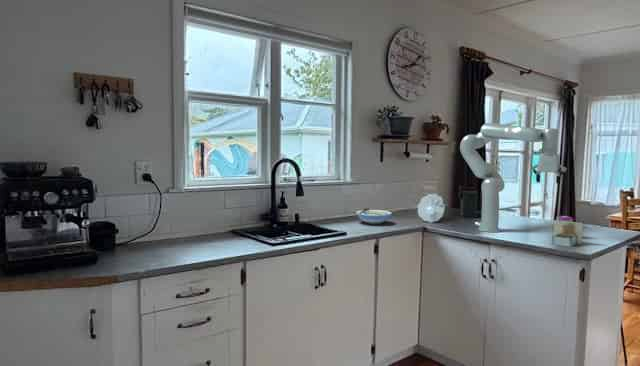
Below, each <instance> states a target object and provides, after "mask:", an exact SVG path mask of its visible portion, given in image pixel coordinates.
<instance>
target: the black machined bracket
mask: <svg viewBox="0 0 640 366" xmlns="http://www.w3.org/2000/svg"><path fill="white" fill-rule="evenodd" d="M475 189H476V188H475V187H469V186H468V187H467V186H466V187H465V186H463V185H458V197H457V199H459V200H460V203H459V204H460V205H459V207H460V208H459V209H460V210H459V214H460V215H461V217H462V218H466V219H467V218H468V219H469V218H472V219H473V218H475V219H476V218H477V217H478V216H477V215H478V191H476V190H475Z"/></svg>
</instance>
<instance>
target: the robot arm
mask: <svg viewBox="0 0 640 366" xmlns="http://www.w3.org/2000/svg"><path fill="white" fill-rule="evenodd" d="M494 139H498V140H506V141H507V140H508V141H510V140H511V141H513V140H514V141H520V142H521V141H522V142H528V143H529V142H530V143H541V148H539V149H538V152H540V153H539V155H538V161H537V164H536V165H532V166H531V168H530V169H531V170H532V172H533V174H534V175H535V181H536V183H541V173H555V174H556V179H555V184H560V182H561V176H562V175H564V174H565V173H566V171H567V167H566V166H563V165H561V163H560V155H559V154H558V147H559V129H558V128H545V129H542V128H535V127H524V126H515V125H513V124H502V123H491V122H487V123H484V124H482V126H480V132H478V133H476V134H467V135H466V136H464V137H463V138H462V140H461V142H460V144H459V145H460V146H459V150H460V153H461V156H462V158H463V159H464V160H465V162H466V163H467V165H468V166H469V168H470V169H471V171H472V173H473V174H474V176H475V177H476V178H478V179H483V181H482V183H481V186H480V187H481V220H480V222H478V221H475V222H474V225H475V226H479V227H478V229H477V230H479V231H481V232H486V233H499V232H502V229H501V228H500V227H499V220H500V219H499V218H500V194H499V193H500V192H502V191H503V190H504V189H505V181H504V179H503V178H502V175H500V173H499V172H498V170H497V169H496V167H495V166H494V165H493V164H492V163H490V162H486V161H485V160H483V158H482V156H481V155H480V154H479V152H478V151H477V149H481V148H482V147H484V146H486V145H488V143H490V142H492V141H493V140H494ZM536 168H537V169H536ZM560 170H561V171H560Z"/></svg>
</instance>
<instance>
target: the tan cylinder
mask: <svg viewBox="0 0 640 366" xmlns="http://www.w3.org/2000/svg"><path fill="white" fill-rule="evenodd" d="M569 231H570V226H569V225H560V231H559V237H564V238H569Z"/></svg>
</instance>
